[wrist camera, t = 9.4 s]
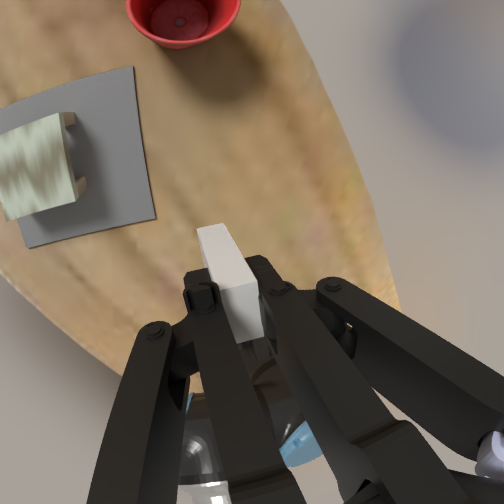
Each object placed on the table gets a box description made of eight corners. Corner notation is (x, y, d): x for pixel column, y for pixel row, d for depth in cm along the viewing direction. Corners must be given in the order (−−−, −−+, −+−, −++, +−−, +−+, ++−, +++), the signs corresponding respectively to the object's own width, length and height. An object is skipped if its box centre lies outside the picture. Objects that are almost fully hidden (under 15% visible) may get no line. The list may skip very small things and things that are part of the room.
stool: (75, 201, 29) (6, 221, 27) (87, 187, 34) (24, 205, 32) (58, 112, 24) (-13, 141, 22) (73, 111, 29) (9, 135, 27)
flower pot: (189, 76, 32) (197, 64, 23) (117, 36, 27) (103, 14, 18) (239, 15, 29) (263, -10, 21) (170, -25, 24) (174, -59, 16)
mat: (155, 217, 39) (155, 218, 38) (27, 247, 35) (26, 248, 34) (132, 66, 29) (132, 65, 29) (-5, 111, 25) (-6, 112, 25)
